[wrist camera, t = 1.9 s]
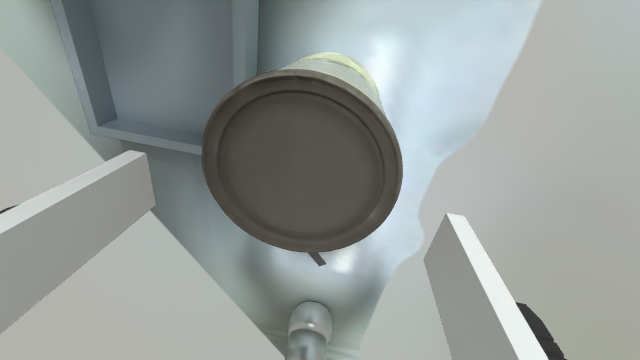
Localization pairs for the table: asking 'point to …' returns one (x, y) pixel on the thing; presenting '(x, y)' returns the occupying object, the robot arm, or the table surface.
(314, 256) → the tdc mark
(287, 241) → the coffee can
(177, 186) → the table surface
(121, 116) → the tray
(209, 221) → the table surface
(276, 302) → the table surface
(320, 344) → the plastic bottle
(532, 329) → the robot arm
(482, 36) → the table surface
